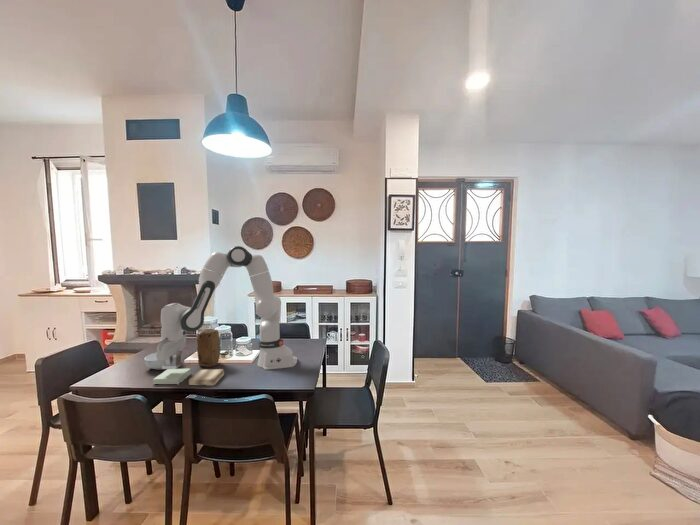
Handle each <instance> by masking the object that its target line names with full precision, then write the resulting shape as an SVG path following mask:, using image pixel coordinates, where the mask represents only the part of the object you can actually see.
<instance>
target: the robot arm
mask: <svg viewBox="0 0 700 525" xmlns="http://www.w3.org/2000/svg"><path fill="white" fill-rule="evenodd" d="M267 264H268V263H267V262H266V260H265V258H264V257H263V256H262V255H261V254H251V252H249V250H248V249H246V248H245V247H243V246H240V245H236V246H233V247H231V248H230V249H229V250H228V252H227V253H223V252H219V251H215V252H213V253H211V255H210V256H209V257H208V258H207V260H206V261H205V263H204V265H203V267H202V269H201V271H200V274H199V277H198V293H197V294H196V297H195V299H194V301H193V304H192V305H191V307H190V306H186V305H183V304H181V303H179V302H172V303H169V304H166V305H163V307H162V308H161V310H160V324H161V329H160V339H161V340H160V341H159V343H158V345H157V347H156V352H157V353H156V352H155V353H156V358H157V360H165V361H166V365H170V364H171V360H170V356H171V355H173V354H174V353H176V352H177V351H182V350H183V349H184V348H186V345H187V335H186V334H187V332H189V333H193V332H196V331H199V330H200V329H201V328H202V327H203V325H204V322H205V313H206V312H205V311H206V309H207V307H208V305H209V303H210V301H211V298H212V296H213V294H214V292H215V291H216V290H217V287H218V286H219V285H220V283H221V281H222V279H223V277H224V275H225V273H226V271H227V270H228V269H229V267H233V268H241V267H244V268H245V269H246V270H247V273H248V276H249V279H250V283H251V286H252V290H253V296H254V302H255V314H256V315H257V317H259V318H260V322H259V324H260V325H259V340H258V348H259V353H258V354H259V356H258V360H257V363H256V364H257V366H258V368H259V367H260V368H261V369H262V368H263V370H275V369H276V370H278V369H286V368H287V369H288V368H293V367H294V366H296V365H297V364H298V357H297V356H294V352H293V350H292V349H291V348H290V347H289V346H286V345H285V344H284V338H281V337H280V336H281V334H280V322H281V314H282V313H281V308H282V307H281V306H282V301H281V298H280V297H279V296H278V295H275V294H274V285H273V281H272V277H271V273H270V271H269V268H268V265H267Z"/></svg>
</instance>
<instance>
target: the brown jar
mask: <svg viewBox="0 0 700 525" xmlns="http://www.w3.org/2000/svg"><path fill="white" fill-rule="evenodd" d="M219 333H220V332H219V330H218V329H212V328H211V329H204V330H202V331H201V332H200V333H199V334H198V337H197V343H196V344H197V353H198V355H197V361H198V362H197V364H198V365H199V366H202V367H207V368H210V367H215V366H216V365H218V364H219V361H220V356H221V355H220V354H221V353H220V351H221V350H220V349H221V348H220V335H219Z"/></svg>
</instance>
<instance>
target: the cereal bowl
mask: <svg viewBox="0 0 700 525" xmlns="http://www.w3.org/2000/svg"><path fill="white" fill-rule="evenodd" d="M156 353H157V351H156V352H154V353H150V354H148V355H146V356H144V360H143V361H144V364H145V366H146V367H147V368H149V369H155V370H163V369H162V366H163V360H157V358H156Z"/></svg>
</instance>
